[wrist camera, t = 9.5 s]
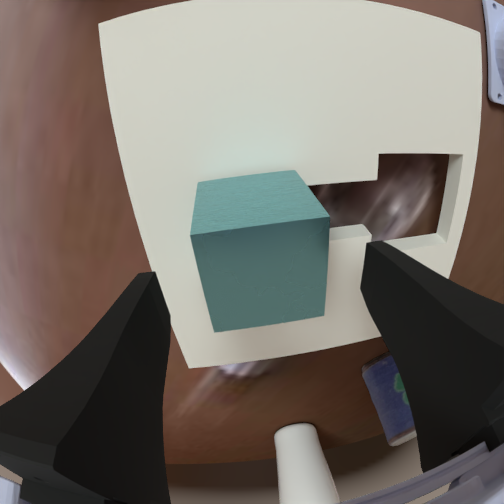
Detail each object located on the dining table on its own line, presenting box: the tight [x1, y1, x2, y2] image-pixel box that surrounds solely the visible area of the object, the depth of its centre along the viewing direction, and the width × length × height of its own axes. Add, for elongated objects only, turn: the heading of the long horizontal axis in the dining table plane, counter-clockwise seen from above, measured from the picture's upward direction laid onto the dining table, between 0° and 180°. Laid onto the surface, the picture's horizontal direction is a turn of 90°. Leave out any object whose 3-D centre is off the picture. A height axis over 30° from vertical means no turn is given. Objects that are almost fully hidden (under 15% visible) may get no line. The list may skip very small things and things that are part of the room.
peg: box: [190, 170, 330, 333], centre depth 13 cm, size 4×4×8 cm
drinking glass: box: [274, 423, 340, 504], centre depth 27 cm, size 7×7×15 cm
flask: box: [362, 351, 417, 446], centre depth 22 cm, size 9×3×11 cm, turn 110°
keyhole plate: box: [98, 0, 482, 368], centre depth 15 cm, size 18×20×3 cm
